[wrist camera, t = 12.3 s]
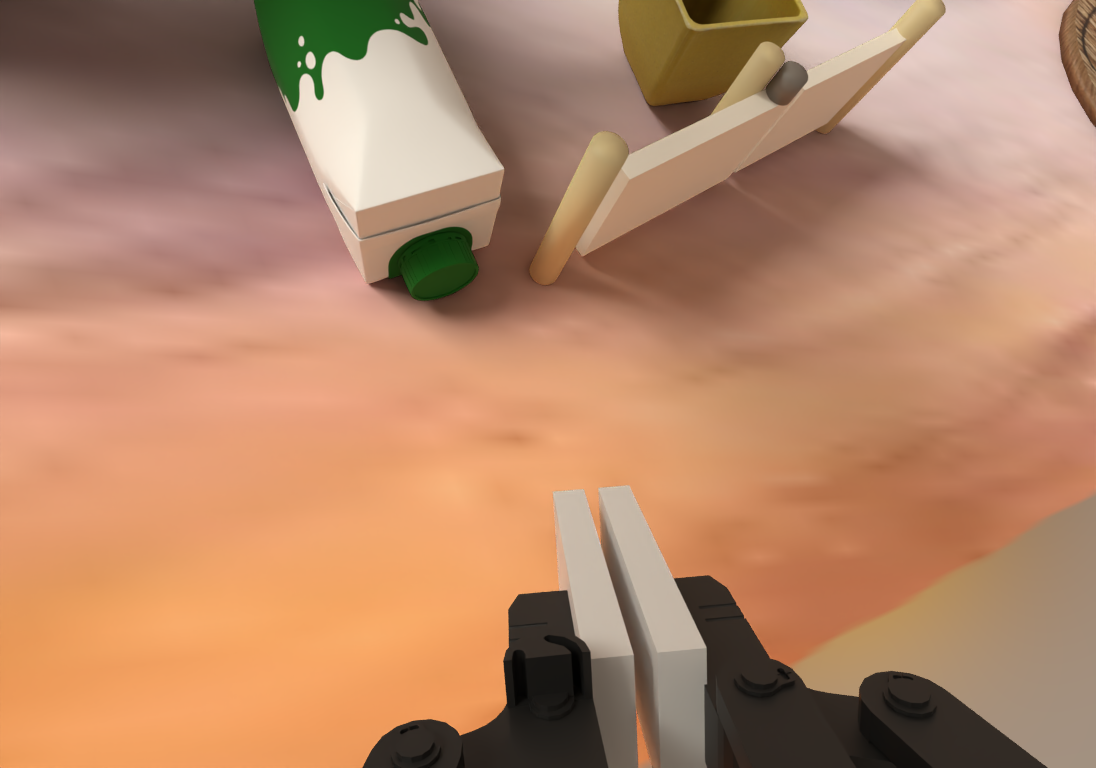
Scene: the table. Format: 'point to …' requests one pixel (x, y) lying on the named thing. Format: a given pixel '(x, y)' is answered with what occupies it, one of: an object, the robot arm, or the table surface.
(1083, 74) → the trivet
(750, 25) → the flower pot
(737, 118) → the gate
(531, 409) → the table surface
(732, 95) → the fence
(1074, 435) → the table surface
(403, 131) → the milk carton
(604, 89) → the table surface
